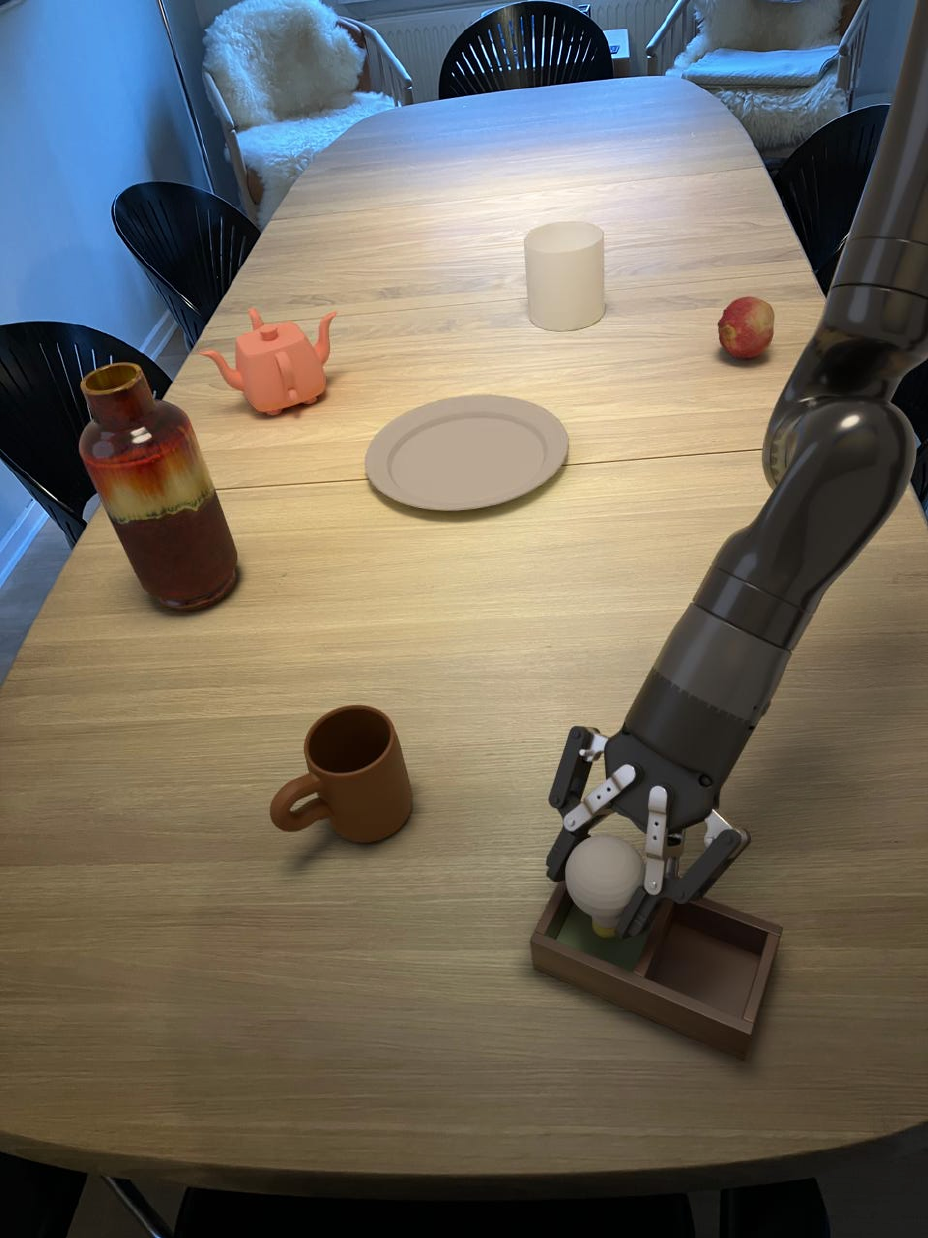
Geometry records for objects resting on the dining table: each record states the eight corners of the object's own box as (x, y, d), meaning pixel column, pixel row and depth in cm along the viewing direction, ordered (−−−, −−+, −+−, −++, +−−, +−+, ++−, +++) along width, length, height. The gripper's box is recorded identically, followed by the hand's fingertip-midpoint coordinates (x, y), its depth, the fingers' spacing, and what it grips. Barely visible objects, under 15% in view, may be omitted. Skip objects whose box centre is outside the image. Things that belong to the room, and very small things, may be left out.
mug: (322, 899, 73) (293, 832, 67) (268, 844, 78) (236, 776, 71) (432, 805, 79) (416, 735, 72) (376, 758, 83) (356, 688, 77)
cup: (513, 318, 144) (507, 241, 136) (564, 290, 149) (561, 214, 141) (568, 338, 137) (565, 258, 129) (620, 309, 142) (620, 230, 134)
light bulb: (653, 959, 65) (656, 885, 58) (576, 970, 65) (570, 896, 58) (636, 890, 69) (637, 813, 62) (564, 900, 69) (557, 824, 62)
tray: (576, 877, 72) (574, 848, 69) (776, 955, 66) (783, 926, 63) (532, 968, 67) (529, 940, 64) (744, 1061, 61) (750, 1035, 58)
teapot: (219, 419, 131) (195, 348, 124) (268, 370, 141) (248, 301, 133) (308, 429, 126) (289, 355, 119) (353, 377, 136) (337, 306, 128)
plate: (433, 394, 129) (431, 381, 128) (602, 427, 118) (602, 413, 117) (327, 495, 114) (324, 481, 113) (509, 543, 103) (508, 529, 102)
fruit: (762, 373, 124) (769, 317, 118) (706, 365, 127) (710, 309, 121) (779, 347, 128) (786, 291, 123) (725, 339, 131) (729, 285, 126)
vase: (264, 579, 104) (191, 368, 86) (181, 633, 99) (86, 420, 81) (210, 542, 110) (132, 338, 92) (130, 591, 105) (30, 385, 87)
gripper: (594, 631, 61) (483, 847, 64) (787, 745, 52) (649, 988, 55) (644, 644, 67) (541, 841, 70) (825, 748, 58) (698, 968, 61)
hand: (589, 905), depth 62 cm, fingers closed on light bulb, 5 cm apart
